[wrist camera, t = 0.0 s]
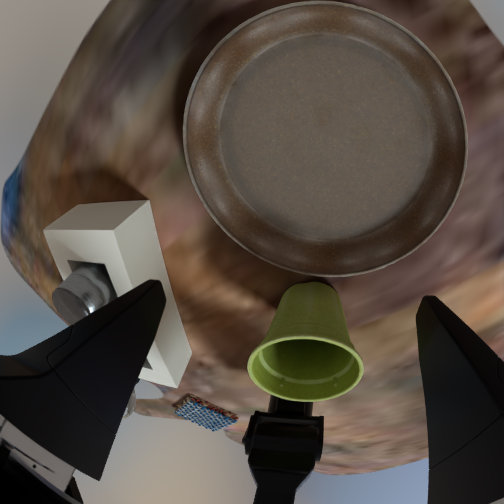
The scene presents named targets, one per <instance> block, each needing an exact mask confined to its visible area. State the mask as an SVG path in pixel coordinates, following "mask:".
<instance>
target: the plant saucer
mask: <svg viewBox="0 0 504 504" xmlns="http://www.w3.org/2000/svg"><path fill="white" fill-rule="evenodd" d="M183 144H184V153H185V158H186V164H187V168H188V171H189V174H190V177H191V180H192V183H193V185H194V187H195V190H196V192H197V194H198V196H199V197H200V199H201V201H202V203H203V205H204V206H205V208H206V209H207V211H208V212H209V214H210V215H211V217H212V218H213V219H214V221H215V222H216V223H217V224H218V225H219V226H220V227H221V229H222V230H223V231H224V232H225V233H226V234H227V235H228V236H229V237H231V238H232V239H233V240H234V241H235V242H237V243H238V244H239V245H240V246H242V247H243V248H244V249H246V250H247V251H249V252H251V253H252V254H253V255H255V256H257V257H258V258H260V259H262V260H264V261H266V262H268V263H270V264H273V265H275V266H277V267H280V268H283V269H286V270H289V271H292V272H296V273H300V274H305V275H312V276H321V277H344V276H352V275H358V274H364V273H368V272H371V271H375V270H378V269H381V268H384V267H386V266H388V265H390V264H393V263H395V262H397V261H398V260H400V259H402V258H404V257H406V256H407V255H409V254H410V253H412V252H413V251H415V250H416V249H417V248H419V247H420V246H421V245H422V244H424V243H425V242H426V241H427V240H428V239H429V238H430V237H431V236H432V235H433V234H434V233H435V232H436V230H437V229H438V228H439V227H440V225H441V224H442V223H443V221H444V220H445V219H446V217H447V216H448V214H449V212H450V211H451V209H452V207H453V205H454V203H455V201H456V199H457V197H458V194H459V192H460V189H461V186H462V183H463V180H464V176H465V170H466V166H467V155H468V135H467V126H466V121H465V116H464V111H463V108H462V105H461V102H460V99H459V96H458V93H457V91H456V89H455V87H454V85H453V83H452V80H451V79H450V77H449V75H448V74H447V72H446V71H445V69H444V67H443V66H442V64H441V63H440V62H439V60H438V59H437V58H436V56H435V55H434V54H433V53H432V52H431V51H430V50H429V49H428V47H427V46H426V45H425V44H424V43H423V42H422V41H421V40H419V39H418V38H417V37H416V36H415V35H414V34H412V33H411V32H410V31H408V30H407V29H406V28H404V27H403V26H401V25H400V24H398V23H396V22H395V21H393V20H391V19H389V18H387V17H385V16H384V15H382V14H379V13H377V12H375V11H372V10H369V9H366V8H363V7H359V6H355V5H352V4H347V3H342V2H335V1H304V2H297V3H290V4H286V5H283V6H279V7H275V8H272V9H270V10H267V11H264V12H262V13H260V14H258V15H256V16H254V17H252V18H250V19H248V20H247V21H245V22H243V23H242V24H240V25H239V26H237V27H236V28H235V29H233V30H232V31H231V32H230V33H229V34H227V35H226V36H225V37H224V38H223V39H222V40H221V41H220V42H219V43H218V44H217V45H216V46H215V47H214V49H213V50H212V51H211V52H210V54H209V55H208V56H207V58H206V59H205V61H204V62H203V64H202V65H201V67H200V69H199V71H198V73H197V74H196V76H195V79H194V81H193V83H192V86H191V88H190V91H189V94H188V98H187V101H186V106H185V112H184V121H183Z"/></svg>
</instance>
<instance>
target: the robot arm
mask: <svg viewBox="0 0 504 504" xmlns="http://www.w3.org/2000/svg"><path fill="white" fill-rule="evenodd" d="M165 306H166V295H165V292H164V289H163V286H162V283H161V281H160V280H155V279H149V280H147V281H145V282H144V283H142V284H140V285H138V286H137V287H135V288H133V289H131V290H130V291H128V292H126V293H125V294H123V295H121V296H119V297H118V298H116V299H114V300H113V301H111V302H109V303H107V304H106V305H104V306H102V307H101V308H99V309H97V310H96V311H94V312H92V313H91V314H89V315H87V316H86V317H84V318H82V319H81V320H79V321H77V322H76V323H74V324H72V325H71V326H69V327H67V328H66V329H64V330H62V331H61V332H59V333H57V334H56V335H54V336H52V337H50V338H48V339H46V340H45V341H43V342H41V343H39V344H37V345H35V346H33V347H31V348H29V349H27V350H25V351H23V352H21V353H19V354H16V355H11V356H4V355H0V504H83V500H82V498H81V495H80V492H79V489H78V487H77V484H76V481H75V478H74V477H73V476H72V475H73V473H74V471H75V469H77V470H79V471H81V472H82V473H84V474H86V475H88V476H90V477H92V478H94V479H96V480H98V481H100V479H101V476H102V473H103V470H104V467H105V464H106V461H107V459H108V455H109V453H110V450H111V447H112V444H113V442H114V439H115V436H116V435H115V434H116V433H117V431H118V428H119V425H120V422H121V420H122V417H123V415H124V412H125V410H126V407H127V404H128V402H129V399H130V397H131V394H132V392H133V389H134V387H135V384H136V382H137V380H138V377H139V375H140V372H141V370H142V368H143V365H144V363H145V360H146V358H147V356H148V353H149V351H150V349H151V346H152V344H153V342H154V339H155V337H156V334H157V331H158V327H159V324H160V321H161V318H162V315H163V312H164V309H165ZM416 327H417V338H418V351H419V361H420V368H421V374H422V381H423V389H424V397H425V406H426V416H427V429H428V448H429V469H430V470H429V485H428V504H504V362H503V361H502V359H501V358H500V357H498V355H497V354H496V353H495V352H494V351H493V350H492V349H491V348H490V347H489V346H488V345H487V344H486V343H485V342H484V341H483V340H482V339H481V338H480V337H479V336H478V335H477V334H476V333H475V332H474V331H473V330H472V329H471V328H470V327H469V326H468V325H467V324H465V323H464V322H463V321H462V320H461V319H460V318H459V317H458V316H457V315H456V314H455V313H454V312H453V311H451V310H450V309H449V308H448V307H447V306H446V305H445V304H444V303H443V302H442V301H440V300H439V299H438V298H437V297H436V296H428V295H426V296H424V297H423V298H422V301H421V303H420V306H419V309H418V311H417V314H416ZM312 409H313V402H301V401H293V400H287V399H283V398H280V397H277V396H274V395H272V394H271V397H270V403H269V408H268V413H267V412H260V411H256V410H255V413H254V415H251V417H250V422H249V425H248V428H247V430H246V432H245V435H244V437H243V439H242V443H243V444H244V446H245V454H246V455H249V457H248V464H249V468H250V472H251V474H252V477H253V479H254V481H255V484H256V486H257V490H256V494H255V498H254V503H253V504H294V499H295V493H296V492H297V490H298V489H299V488H300V487H301V486H302V485H303V484H304V483H305V482H306V481H307V479H308V478H309V477H310V475H311V473H312V471H313V469H314V466H315V461H318V462H319V461H320V458H321V454H322V448H323V433H324V416H319V417H318V416H312Z"/></svg>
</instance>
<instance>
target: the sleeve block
mask: <svg viewBox="0 0 504 504" xmlns="http://www.w3.org/2000/svg"><path fill="white" fill-rule="evenodd" d="M43 232H44V235H45V238H46V240H47V243H48V245H49V248H50V250H51V253H52V255H53V258H54V260H55V262H56V265H57V267H58V269H59V272H60V274H61V276H62V278H63V280H65V279H66V278H67V277H68V276H69V275H70V274H71V273H72V272H73V271H74V270H75V269H76V268H77V267H78V266H79V265H80V264H81V263H82V262H83V261H84V262H93V263H103V264H105V266H106V268H107V271H108V274H109V276H110V279H111V281H112V284H113V286H114V289H115V291H116V294H117V295H116V297H115V298H114V299H116V298H118V297H119V296H121V295H123V294H125V293H126V292H128V291H130V290H131V289H133V288H135V287H137V286H138V285H140V284H142V283H144V282H145V281H147V280H149V279H155V280H160V281H161V283H162V286H163V289H164V292H165V295H166V306H165V309H164V312H163V315H162V318H161V321H160V324H159V327H158V331H157V334H156V337H155V339H154V342H153V344H152V346H151V349H150V351H149V353H148V356H147V359H146V361H145V363H144V365H143V368H142V370H141V372H140V375H139V377H138V378H140V379H144V380H147V381H151V382H154V383H158V384H162V385H166V386H170V387H174V388H178V385H179V383H180V381H181V378H182V376H183V374H184V371H185V369H186V367H187V364H188V362H189V359H190V357H191V355H192V351H191V348H190V345H189V343H188V340H187V337H186V334H185V331H184V327H183V324H182V321H181V318H180V315H179V312H178V309H177V305H176V302H175V299H174V295H173V292H172V288H171V285H170V281H169V278H168V274H167V271H166V267H165V263H164V260H163V256H162V252H161V248H160V244H159V240H158V236H157V232H156V228H155V223H154V219H153V215H152V210H151V206H150V201H149V200H138V201H119V202H103V203H89V204H78V205H77V206H75V207H74V208H72V209H71V210H69V211H68V212H67V213H65V214H64V215H62V216H61V217H60V218H58V219H57V220H55V221H54V222H53V223H51V224H50V225H49V226H47V227H46V228H45V229H43ZM114 299H113V300H114Z"/></svg>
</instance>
